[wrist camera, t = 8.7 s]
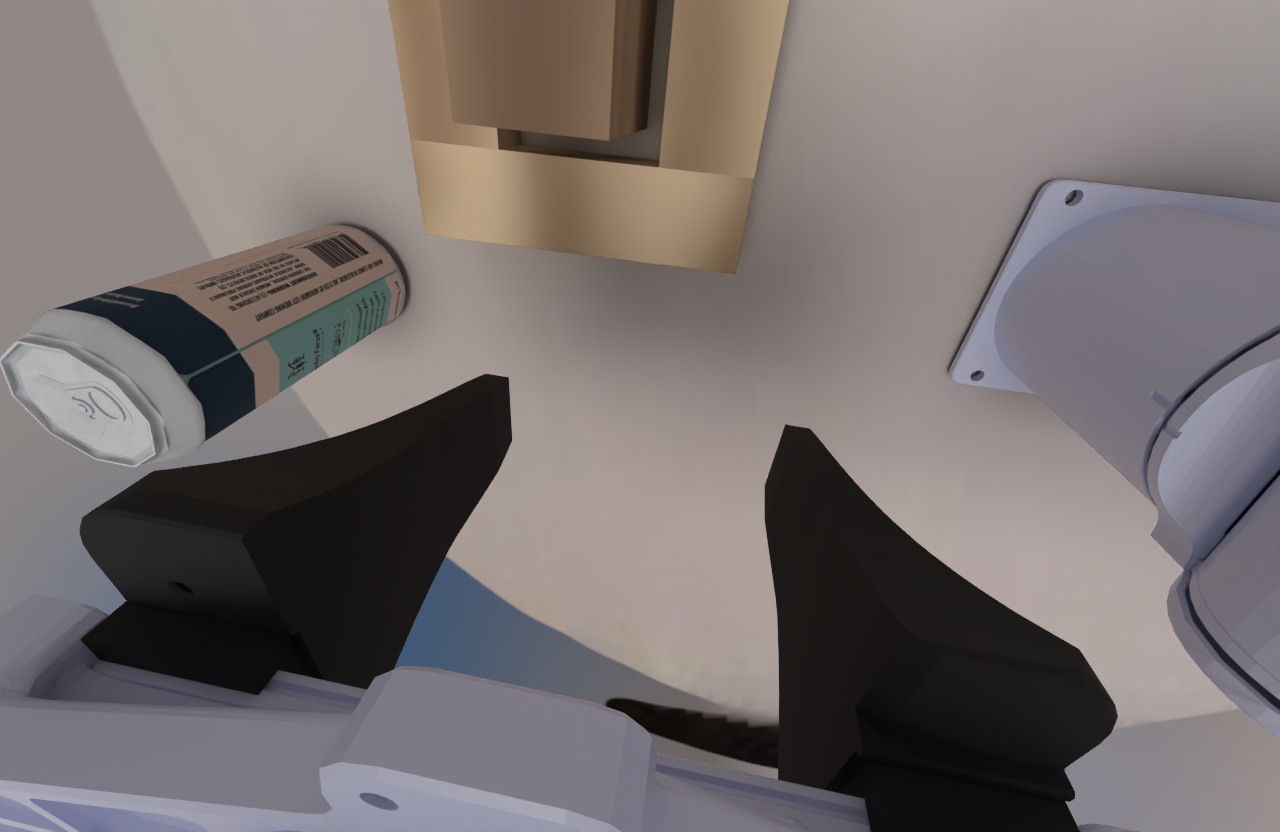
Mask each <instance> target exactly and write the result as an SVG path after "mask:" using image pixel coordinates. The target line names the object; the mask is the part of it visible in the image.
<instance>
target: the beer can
mask: <svg viewBox="0 0 1280 832" xmlns="http://www.w3.org/2000/svg"><path fill="white" fill-rule="evenodd" d="M405 295H406V293H405V286H404V280H403V277H402V274H401V272H400V270H399V268H398V266H397V264H396V262H395V261H394V259H393V258H392V256H391V255H390V254H389V253H388V251H387V250H386V249H385V248H384V247H383V246H382V245H381V244H380V243H378V242H377V241H376V240H375V239H374V238H372V237H371V236H370V235H368V234H366V233H364V232H362V231H361V230H359V229H356V228H353V227H350V226H346V225H339V224H334V225H326V226H323V227H320V228H317V229H313V230H310V231H307V232H303V233H300V234H297V235H294V236H290V237H287V238H284V239H281V240H277V241H274V242H271V243H267V244H264V245H261V246H258V247H254V248H251V249H248V250H245V251H241V252H238V253H235V254H231V255H228V256H225V257H222V258H218V259H215V260H212V261H209V262H205V263H202V264H199V265H196V266H192V267H189V268H186V269H182V270H179V271H176V272H173V273H169V274H166V275H163V276H160V277H156V278H153V279H150V280H146V281H143V282H140V283H137V284H133V285H130V286H127V287H124V288H120V289H117V290H114V291H110V292H107V293H104V294H101V295H98V296H95V297H91V298H88V299H84V300H81V301H78V302H74V303H71V304H68V305H65V306H61V307H58V308H55V309H52V310H49V311H47V312H44V313H42V314H39V315H37V316H36V317H34V318H33V320H32V321H31V324H30V325H29V327H28V329H27V331H26V332H25V334H24V336H22V337H20V338H18V339H17V340H15V342H14V343H13V344H12V345H11V347H10V348H9V349H8V350H7V351H6V352H5V353H4V354H3V355H2V356H1V357H0V366H1V369H2V371H3V374H4V376H5V379H6V381H7V384H8V386H9V389H10V391H11V394H12V396H13V397H14V398H15V399H16V400H17V401H18V402H19V403H20V404H21V405H22V406H23V407H24V408H25V409H26V410H27V411H28V412H29V413H30V414H31V415H32V416H33V417H34V418H35V419H36V420H37V421H38V422H39V423H40V424H41V425H42V426H43V427H44V428H45V429H46V430H47V431H48V432H49V433H50V434H52V435H54V436H56V437H57V438H59V439H61V440H62V441H64V442H66V443H68V444H69V445H71V446H73V447H74V448H76V449H78V450H80V451H81V452H83V453H85V454H87V455H88V456H90V457H92V458H93V459H95V460H100V461H105V462H110V463H115V464H120V465H125V466H129V467H136V466H138V465H141V464H148V463H154V462H159V461H165V460H171V459H175V458H179V457H183V456H187V455H190V454H192V453H193V452H195V451H197V450H198V449H199V448H200V447H201V446H202V445H203V443H204V442H205V441H206V440H208V439H209V438H211V437H212V436H214V435H216V434H217V433H219V432H220V431H222V430H223V429H225V428H226V427H228V426H229V425H231V424H232V423H234V422H236V421H237V420H238V419H240V418H242V417H243V416H245V415H246V414H248V413H249V412H251V411H252V410H254V409H256V408H257V407H259V406H260V405H262V404H263V403H265V402H266V401H268V400H269V399H271V398H272V397H274V396H276V395H277V394H279V393H280V392H282V391H283V390H285V389H286V388H288V387H289V386H291V385H292V384H294V383H296V382H297V381H299V380H300V379H302V378H303V377H305V376H306V375H308V374H309V373H311V372H312V371H314V370H316V369H317V368H319V367H320V366H322V365H323V364H325V363H326V362H328V361H329V360H331V359H332V358H334V357H336V356H337V355H339V354H340V353H342V352H343V351H345V350H346V349H348V348H349V347H351V346H352V345H354V344H356V343H357V342H359V341H360V340H362V339H363V338H365V337H366V336H368V335H369V334H371V333H372V332H374V331H376V330H377V329H379V328H380V327H382V326H385V325H388V324H389V323H391V322H393V321H394V320H395V319H396V318H397V317H398V316H399V315H400V313H401V312H402V310H403V307H404V302H405Z"/></svg>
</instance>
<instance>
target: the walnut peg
mask: <svg viewBox="0 0 1280 832" xmlns="http://www.w3.org/2000/svg"><path fill="white" fill-rule="evenodd" d="M439 2H440V11H441V20H442V29H443V38H444V47H445V57H446V66H447V75H448V84H449V93H450V102H451V111H452V120H453V123H458V124H467V125H476V126H484V127H493V128H502V129H510V130H519V131H528V132H536V133H545V134H554V135H562V136H571V137H579V138H588V139H597V140H605V141H610V140H613V139H616V138H620V137H623V136H626V135H629V134H632V133H635V132H638V131H641V130H644V129H647V122H648V110H649V98H650V87H651V75H652V63H653V51H654V39H655V27H656V15H657V3H658V0H439Z"/></svg>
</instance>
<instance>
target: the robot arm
mask: <svg viewBox="0 0 1280 832" xmlns="http://www.w3.org/2000/svg"><path fill="white" fill-rule="evenodd" d="M1073 190H1076V192H1077V193H1076V197H1075V198H1074V199H1073V200H1072V201H1071V202H1070V203H1068V204H1066V203H1065V199H1066V196H1067V195H1068V194H1069V193H1070V192H1072V191H1073ZM978 370H980V373H979V374H978V375H976V376H974V377H970V376H971V374H972V373H973V372H975V371H978ZM949 376H950V377H951V379H952V380H953V381H954V382H956V383H959V384H964V385H972V386H979V387H986V388H993V389H1000V390H1007V391H1014V392H1021V393H1029V394H1036V395H1037V396H1038V397H1039V398H1040V399H1041V400H1042V401H1043V402H1044V403H1045V404H1047V405H1048V406H1049V407H1050V408H1051V409H1052V410H1053V411H1054V412H1055V413H1056V414H1057V415H1058V416H1059V417H1060V418H1062V419H1063V420H1064V421H1065V422H1066V423H1067V424H1068V425H1069V426H1070V427H1071V428H1072V429H1073V430H1074V431H1076V432H1077V433H1078V434H1079V435H1080V436H1081V437H1082V438H1083V439H1084V440H1085V441H1086V442H1087V443H1088V444H1089V445H1091V446H1092V447H1093V448H1094V449H1095V450H1096V451H1097V452H1098V453H1099V454H1100V455H1101V456H1102V457H1103V458H1105V459H1106V460H1107V461H1108V462H1109V463H1110V464H1111V465H1112V466H1113V467H1114V468H1115V469H1116V470H1117V471H1118V472H1120V473H1121V474H1122V475H1123V476H1124V477H1125V478H1126V479H1127V480H1128V481H1129V482H1130V483H1131V484H1132V485H1134V486H1135V487H1136V488H1137V489H1138V490H1139V491H1140V492H1141V493H1142V494H1143V495H1144V496H1145V497H1146V498H1147V499H1149V500H1150V501H1151V502H1152V503H1153V504H1154V505H1155V506H1156V507H1157V509H1158V521H1157V525H1156V527H1155V528H1154V530H1153V532H1152V533H1151V536H1152V537H1153V538H1154V539H1155V540H1156V541H1157V542H1158V543H1159V544H1160V546H1161V547H1162V548H1163V549H1164V550H1165V551H1166V552H1167V553H1168V554H1169V555H1170V556H1171V557H1172V558H1173V559H1174V560H1175V561H1176V562H1177V563H1178V564H1179V565H1180V566H1181V567H1182V568H1183V569H1184V571H1183V572H1182V573H1181V574H1180V576H1179V577H1178V578H1177V579H1176V580H1175V582H1174V583H1173V584H1172V586H1171V587H1170V590H1169V594H1168V598H1167V609H1168V616H1169V619H1170V621H1171V624H1172V627H1173V629H1174V632H1175V634H1176V635H1177V637H1178V638H1179V640H1180V642H1181V643H1182V645H1183V647H1184V648H1185V650H1186V651H1187V653H1188V654H1189V655H1190V656H1191V658H1192V659H1193V660H1194V661H1195V663H1196V664H1197V665H1198V666H1199V668H1200V669H1201V670H1202V671H1203V673H1204V674H1205V675H1206V676H1207V677H1208V678H1209V679H1210V680H1211V681H1212V682H1213V683H1214V684H1215V685H1216V686H1217V687H1218V688H1219V689H1220V690H1221V691H1222V692H1223V693H1224V694H1225V695H1226V696H1227V697H1228V698H1229V699H1230V700H1231V701H1232V702H1234V703H1235V704H1236V705H1237V706H1238V707H1239V708H1240V709H1242V710H1243V711H1244V712H1245V713H1246V714H1247V715H1249V716H1250V717H1251V718H1252V719H1253V720H1254V721H1256V722H1257V723H1258V724H1259V725H1261V726H1262V727H1263V728H1265V729H1266V730H1267V731H1269V732H1270V733H1271V734H1272V735H1274V736H1275V737H1276V738H1278V739H1279V740H1280V203H1279V202H1270V201H1261V200H1252V199H1242V198H1233V197H1224V196H1215V195H1205V194H1196V193H1187V192H1178V191H1168V190H1159V189H1150V188H1141V187H1131V186H1122V185H1113V184H1103V183H1094V182H1085V181H1076V180H1066V179H1055V180H1053V181H1050V182H1048V183H1047V184H1046V185H1044V186H1043V187H1042V188H1041V190H1040V191H1039V193H1038V194H1037V196H1036V198H1035V200H1034V202H1033V204H1032V206H1031V208H1030V210H1029V212H1028V214H1027V216H1026V218H1025V220H1024V222H1023V224H1022V226H1021V228H1020V230H1019V232H1018V234H1017V236H1016V238H1015V240H1014V242H1013V244H1012V246H1011V248H1010V250H1009V252H1008V254H1007V256H1006V258H1005V260H1004V262H1003V264H1002V266H1001V268H1000V270H999V272H998V274H997V276H996V278H995V280H994V282H993V284H992V286H991V288H990V290H989V292H988V294H987V296H986V298H985V300H984V302H983V304H982V306H981V308H980V310H979V312H978V314H977V316H976V318H975V320H974V322H973V324H972V326H971V328H970V330H969V332H968V334H967V336H966V338H965V340H964V342H963V344H962V346H961V348H960V350H959V351H958V353H957V355H956V357H955V359H954V361H953V363H952V365H951V367H950V370H949ZM511 442H512V430H511V412H510V394H509V378H508V377H502V376H496V375H490V374H484V375H482V376H479V377H477V378H475V379H472V380H470V381H468V382H466V383H464V384H462V385H460V386H458V387H456V388H453V389H451V390H449V391H447V392H445V393H443V394H441V395H439V396H437V397H435V398H433V399H431V400H428V401H426V402H424V403H422V404H420V405H418V406H415V407H413V408H411V409H408V410H406V411H404V412H401V413H399V414H397V415H394V416H392V417H390V418H387V419H385V420H382V421H380V422H377V423H374V424H372V425H369V426H366V427H363V428H360V429H357V430H354V431H351V432H348V433H345V434H342V435H339V436H336V437H332V438H328V439H325V440H321V441H317V442H313V443H310V444H306V445H302V446H298V447H295V448H291V449H286V450H282V451H277V452H273V453H268V454H263V455H259V456H253V457H247V458H242V459H237V460H231V461H225V462H219V463H212V464H205V465H197V466H190V467H182V468H175V469H168V470H158V471H153V472H151V473H149V474H148V475H146V476H145V477H143V478H142V479H140V480H139V481H138V482H136V483H134V484H133V485H131V486H130V487H128V488H127V489H125V490H124V491H122V492H121V493H119V494H118V495H116V496H114V497H113V498H111V499H110V500H108V501H107V502H105V503H103V504H102V505H100V506H99V507H97V508H96V509H94V510H92V511H91V512H90V513H88V514H87V515H86V516H84V517H83V518H82V522H81V525H80V535H81V539H82V542H83V545H84V546H85V548H86V549H87V551H88V552H89V554H90V555H91V557H92V558H93V559H94V561H95V562H96V563H97V565H98V566H99V567H100V568H101V569H102V571H103V572H104V573H105V574H106V576H107V577H108V578H109V579H110V580H111V582H112V583H113V584H114V586H116V588H117V589H118V590H119V592H120V593H121V594H122V595H123V597H124V598H125V599H126V600H127V601H126V602H125V603H124V604H123V605H122V606H120V607H119V608H118V609H116V610H115V611H114V612H113V613H112V614H110V615H109V616H108V615H107V614H106V613H104V612H102V611H100V610H98V609H97V608H94V607H91V606H88V605H84V604H80V603H75V602H71V601H66V600H61V599H57V598H52V597H47V596H43V595H29V596H28V597H27V598H25V599H24V600H22V601H21V602H19V603H18V604H17V605H15V606H14V607H12V608H11V609H9V610H8V611H7V612H5V613H4V614H3V615H1V616H0V832H1137V831H1132V830H1128V829H1123V828H1118V827H1114V826H1109V825H1101V824H1086V825H1080V826H1077V825H1076V823H1075V821H1074V819H1073V816H1072V814H1071V812H1070V810H1069V808H1068V806H1067V804H1066V802H1065V801H1069V802H1070V801H1071V800H1073V799H1074V798H1075V791H1074V790H1073V787H1072V785H1071V783H1070V781H1069V779H1068V778H1067V775H1066V773H1065V771H1064V768H1066V767H1067V766H1069V765H1070V764H1071V763H1073V762H1074V761H1075V760H1077V759H1079V758H1080V757H1082V756H1083V755H1084V754H1086V753H1087V752H1089V751H1090V750H1092V749H1093V748H1095V747H1096V746H1097V745H1099V744H1100V743H1101V742H1102V741H1103V740H1104V739H1105V738H1106V737H1108V736H1109V734H1111V732H1112V730H1113V728H1114V725H1115V723H1116V720H1117V718H1118V716H1117V711H1116V707H1115V704H1114V702H1113V701H1112V699H1111V698H1110V696H1109V694H1108V693H1107V691H1106V690H1105V688H1104V687H1103V685H1102V684H1101V682H1100V681H1099V679H1098V677H1097V676H1096V674H1095V673H1094V671H1093V670H1092V668H1091V667H1090V665H1089V664H1088V662H1087V660H1086V659H1085V657H1084V656H1083V654H1082V653H1081V651H1080V650H1079V649H1078V648H1076V647H1074V646H1073V645H1071V644H1069V643H1067V642H1066V641H1064V640H1062V639H1060V638H1059V637H1057V636H1055V635H1053V634H1052V633H1050V632H1048V631H1047V630H1045V629H1043V628H1041V627H1040V626H1038V625H1036V624H1034V623H1033V622H1031V621H1029V620H1028V619H1026V618H1024V617H1022V616H1021V615H1019V614H1017V613H1016V612H1014V611H1012V610H1011V609H1009V608H1008V607H1006V606H1005V605H1003V604H1002V603H1000V602H998V601H997V600H995V599H994V598H992V597H991V596H989V595H988V594H986V593H985V592H983V591H982V590H980V589H979V588H977V587H976V586H974V585H973V584H971V583H970V582H969V581H967V580H966V579H964V578H963V577H961V576H960V575H959V574H957V573H956V572H954V571H953V570H952V569H951V568H949V567H948V566H947V565H945V564H944V563H943V562H941V561H940V560H939V559H937V558H936V557H935V556H933V555H932V554H931V553H929V552H928V551H927V550H926V549H925V548H923V547H922V546H921V545H920V544H918V543H917V542H916V541H915V540H914V539H913V538H911V537H910V536H909V535H908V534H907V533H906V532H905V531H903V530H902V529H901V528H900V527H899V526H898V525H897V524H895V523H894V522H893V521H892V520H891V519H890V518H889V517H888V516H887V515H886V514H885V513H884V512H883V511H882V510H881V509H880V508H879V507H878V506H877V505H876V504H875V503H874V502H873V501H872V500H871V499H870V498H869V497H868V496H867V495H866V494H865V493H864V492H863V491H862V489H861V488H860V487H859V486H858V485H857V484H856V483H855V482H854V481H853V479H852V478H851V477H850V476H849V475H848V474H847V473H846V471H845V470H844V469H843V468H842V467H841V466H840V464H839V463H838V462H837V461H836V459H835V458H834V457H833V456H832V455H831V453H830V452H829V451H828V450H827V448H826V447H825V446H824V445H823V444H822V442H821V441H820V440H819V439H818V437H817V436H816V435H815V434H814V433H813V432H812V431H811V429H808V428H802V427H796V426H791V425H785V427H784V430H783V433H782V436H781V439H780V442H779V445H778V448H777V451H776V454H775V457H774V460H773V463H772V466H771V469H770V472H769V475H768V478H767V481H766V484H765V525H766V532H767V540H768V547H769V554H770V561H771V568H772V575H773V582H774V589H775V596H776V605H777V617H778V648H779V764H778V780H777V779H772V778H768V777H763V776H758V775H754V774H749V773H745V772H740V771H736V770H731V769H727V768H722V767H717V766H713V765H708V764H704V763H699V762H694V761H690V760H686V759H681V758H676V757H672V756H667V755H663V754H658V753H656V751H655V747H654V744H653V740H652V737H651V736H650V735H649V733H648V732H647V731H646V729H644V728H643V727H642V726H640V725H639V724H638V723H636V722H635V721H634V720H633V719H631V718H630V717H629V716H627V715H626V714H625V713H622V712H619V711H617V710H614V709H611V708H608V707H605V706H602V705H600V704H597V703H594V702H591V701H586V700H581V699H577V698H572V697H567V696H562V695H558V694H553V693H548V692H544V691H539V690H534V689H530V688H525V687H521V686H516V685H511V684H507V683H502V682H497V681H493V680H488V679H483V678H478V677H474V676H469V675H465V674H460V673H455V672H451V671H446V670H441V669H437V668H428V667H413V666H402V667H399V668H397V669H394V668H395V665H396V663H397V660H398V658H399V655H400V653H401V651H402V649H403V646H404V644H405V642H406V639H407V637H408V635H409V632H410V630H411V628H412V626H413V623H414V621H415V619H416V616H417V614H418V612H419V610H420V608H421V605H422V604H423V601H424V599H425V597H426V595H427V593H428V590H429V589H430V586H431V584H432V582H433V580H434V578H435V576H436V574H437V572H438V570H439V568H440V566H441V564H442V562H443V560H444V558H445V556H446V554H447V552H448V550H449V548H450V547H451V545H452V543H453V542H454V540H455V538H456V536H457V535H458V533H459V532H460V530H461V529H462V527H463V525H464V524H465V522H466V521H467V519H468V518H469V516H470V515H471V513H472V512H473V510H474V508H475V507H476V505H477V504H478V502H479V501H480V499H481V498H482V496H483V495H484V493H485V491H486V490H487V488H488V487H489V485H490V484H491V482H492V480H493V479H494V477H495V476H496V474H497V472H498V471H499V468H500V466H501V464H502V462H503V460H504V458H505V456H506V453H507V451H508V449H509V446H510V444H511Z"/></svg>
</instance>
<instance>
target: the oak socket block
mask: <svg viewBox="0 0 1280 832" xmlns="http://www.w3.org/2000/svg"><path fill="white" fill-rule="evenodd" d="M388 1H389V8H390V14H391V20H392V27H393V33H394V39H395V45H396V52H397V58H398V64H399V71H400V77H401V83H402V90H403V96H404V102H405V109H406V115H407V121H408V128H409V134H410V140H411V146H412V153H413V159H414V165H415V172H416V178H417V184H418V191H419V197H420V203H421V210H422V216H423V222H424V229H425V234H426V235H434V236H442V237H449V238H457V239H465V240H473V241H481V242H488V243H496V244H504V245H512V246H520V247H527V248H535V249H543V250H551V251H559V252H566V253H574V254H582V255H590V256H598V257H605V258H613V259H621V260H629V261H637V262H644V263H652V264H660V265H668V266H676V267H683V268H691V269H699V270H707V271H715V272H722V273H730V274H736V269H737V264H738V258H739V253H740V248H741V243H742V238H743V233H744V228H745V223H746V218H747V213H748V208H749V202H750V197H751V192H752V187H753V182H754V177H755V172H756V167H757V162H758V157H759V152H760V147H761V141H762V136H763V131H764V126H765V121H766V116H767V111H768V106H769V101H770V96H771V91H772V85H773V80H774V75H775V70H776V65H777V60H778V55H779V50H780V45H781V40H782V35H783V30H784V24H785V19H786V14H787V9H788V4H789V0H658V3H657V15H656V27H655V39H654V51H653V63H652V75H651V87H650V98H649V110H648V122H647V129H644V130H641V131H638V132H635V133H632V134H629V135H626V136H623V137H620V138H616V139H613V140H610V141H605V140H597V139H588V138H579V137H571V136H562V135H554V134H545V133H536V132H528V131H519V130H510V129H502V128H493V127H484V126H476V125H467V124H458V123H453V120H452V111H451V102H450V93H449V84H448V75H447V66H446V57H445V47H444V38H443V29H442V20H441V11H440V2H439V0H388Z"/></svg>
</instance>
